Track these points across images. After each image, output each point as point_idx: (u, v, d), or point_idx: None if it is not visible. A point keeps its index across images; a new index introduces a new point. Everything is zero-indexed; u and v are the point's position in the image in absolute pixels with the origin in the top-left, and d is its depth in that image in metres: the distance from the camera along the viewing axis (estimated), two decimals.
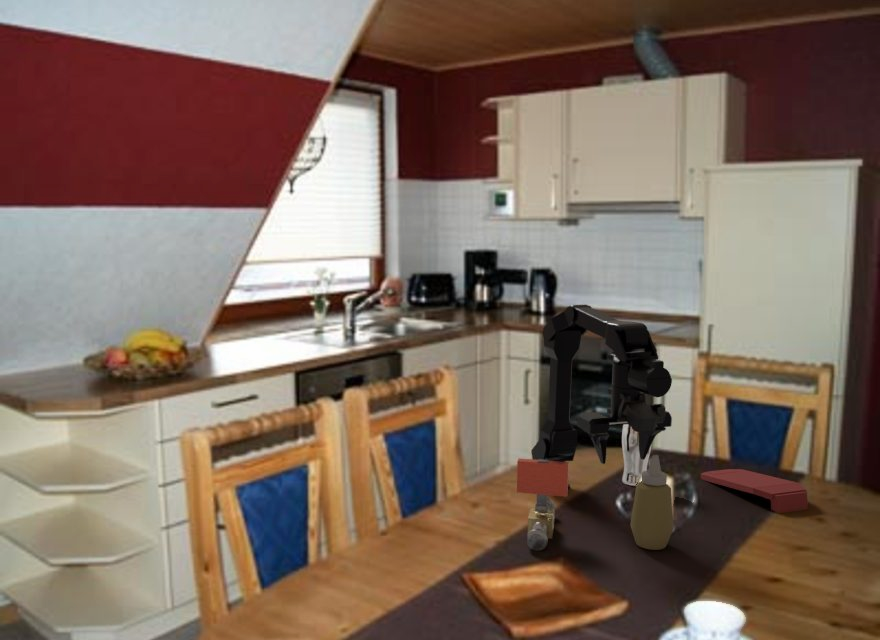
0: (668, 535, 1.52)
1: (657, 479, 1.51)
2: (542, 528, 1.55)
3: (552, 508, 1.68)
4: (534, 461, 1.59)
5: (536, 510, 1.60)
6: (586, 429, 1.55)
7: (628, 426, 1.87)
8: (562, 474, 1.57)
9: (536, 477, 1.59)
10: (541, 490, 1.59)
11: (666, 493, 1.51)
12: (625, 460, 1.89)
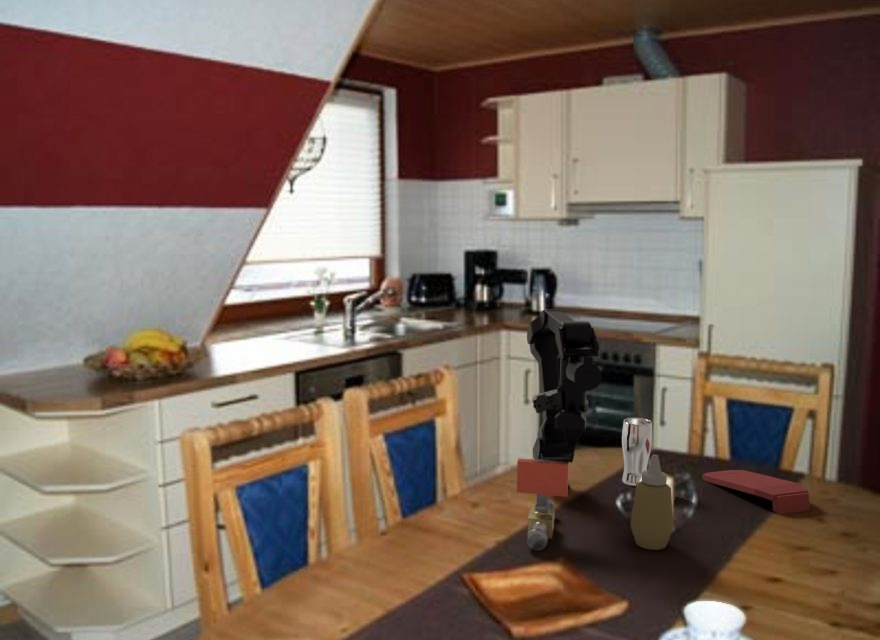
0: (668, 535, 1.52)
1: (657, 479, 1.51)
2: (542, 528, 1.55)
3: (552, 508, 1.68)
4: (534, 461, 1.59)
5: (536, 510, 1.60)
6: None
7: (628, 426, 1.87)
8: (562, 474, 1.57)
9: (536, 477, 1.59)
10: (541, 490, 1.59)
11: (666, 493, 1.51)
12: (625, 460, 1.89)
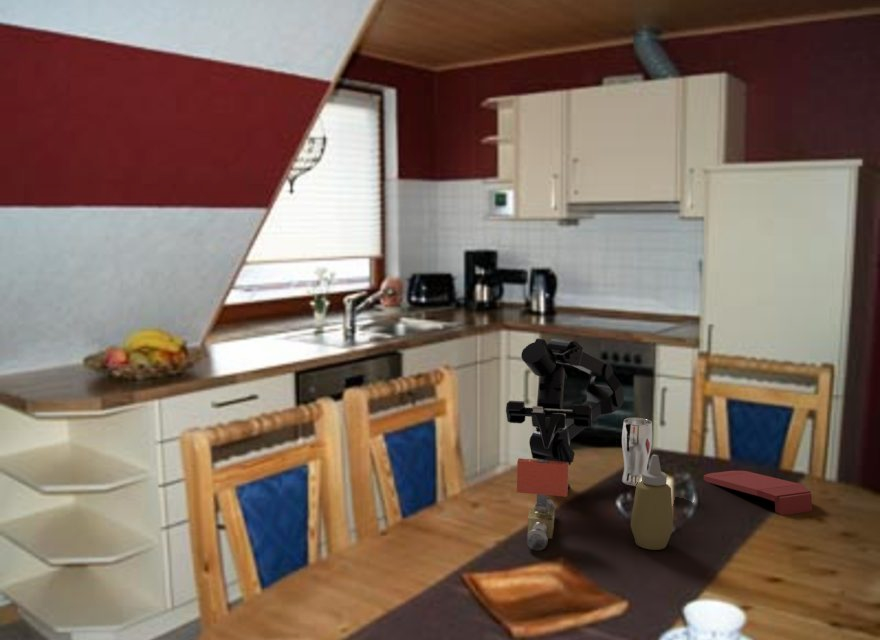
0: (668, 535, 1.52)
1: (657, 479, 1.51)
2: (542, 528, 1.55)
3: (552, 508, 1.68)
4: (534, 461, 1.59)
5: (536, 510, 1.60)
6: (591, 421, 1.76)
7: (628, 426, 1.87)
8: (562, 474, 1.57)
9: (536, 477, 1.59)
10: (541, 490, 1.59)
11: (666, 493, 1.51)
12: (625, 460, 1.89)
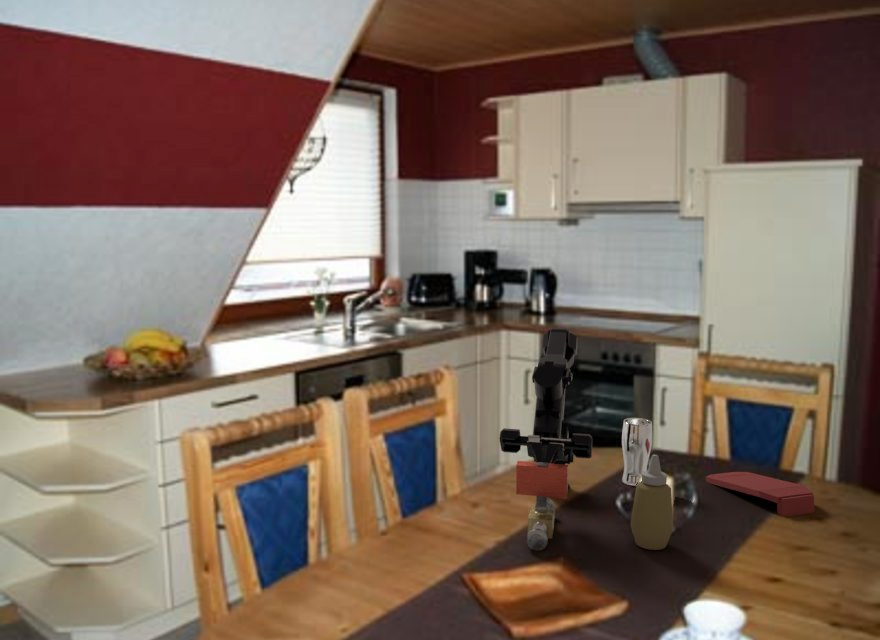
0: (668, 535, 1.52)
1: (657, 479, 1.51)
2: (542, 528, 1.55)
3: (552, 508, 1.68)
4: (533, 464, 1.58)
5: (536, 511, 1.60)
6: (591, 452, 1.63)
7: (628, 426, 1.87)
8: (562, 477, 1.56)
9: (535, 480, 1.58)
10: (541, 492, 1.58)
11: (666, 493, 1.51)
12: (625, 460, 1.89)
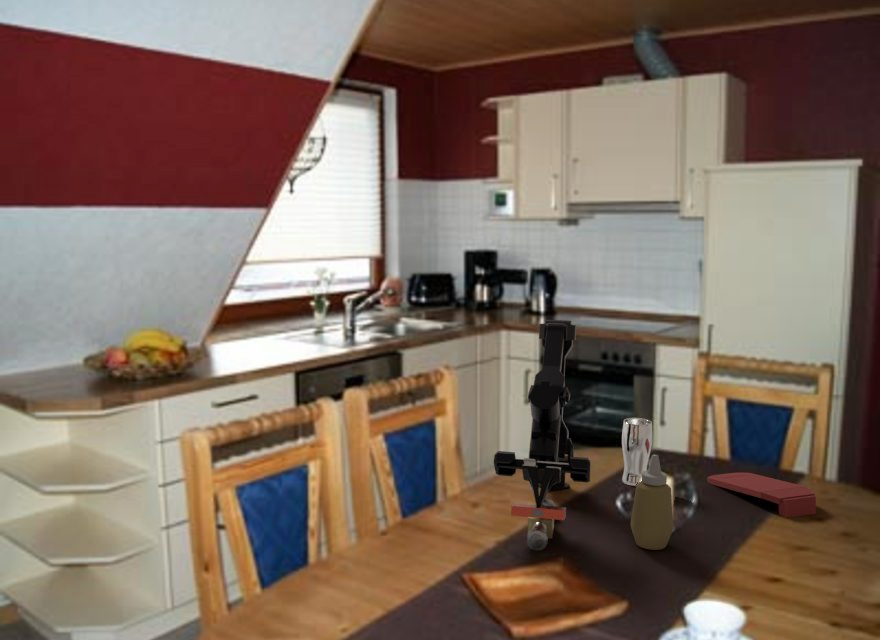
0: (668, 535, 1.52)
1: (657, 479, 1.51)
2: (542, 528, 1.55)
3: None
4: (528, 512, 1.51)
5: None
6: (589, 476, 1.56)
7: (628, 426, 1.87)
8: None
9: None
10: None
11: (666, 493, 1.51)
12: (625, 460, 1.89)
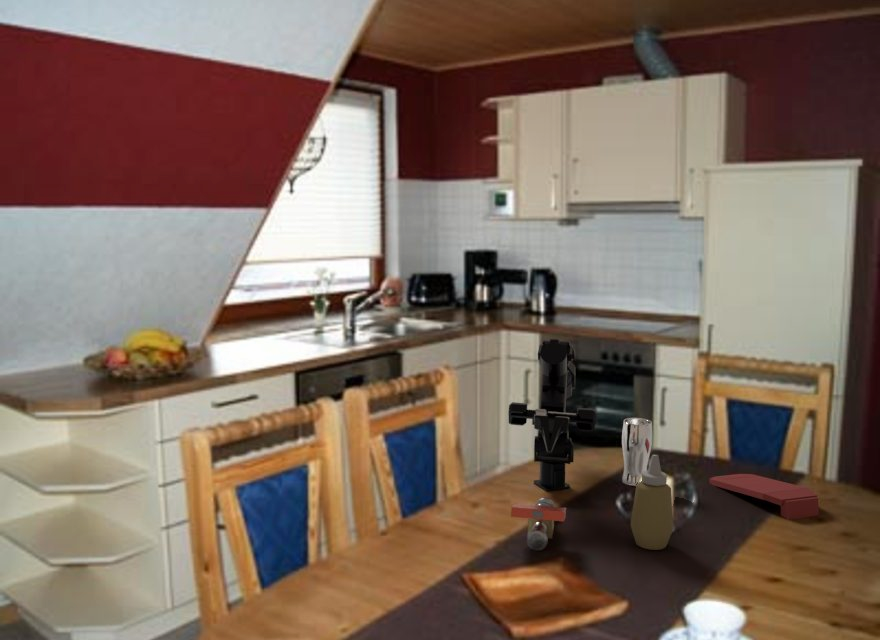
0: (668, 535, 1.52)
1: (657, 479, 1.51)
2: (542, 528, 1.55)
3: None
4: (528, 513, 1.51)
5: None
6: (594, 426, 1.73)
7: (628, 426, 1.87)
8: None
9: None
10: None
11: (666, 493, 1.51)
12: (625, 460, 1.89)
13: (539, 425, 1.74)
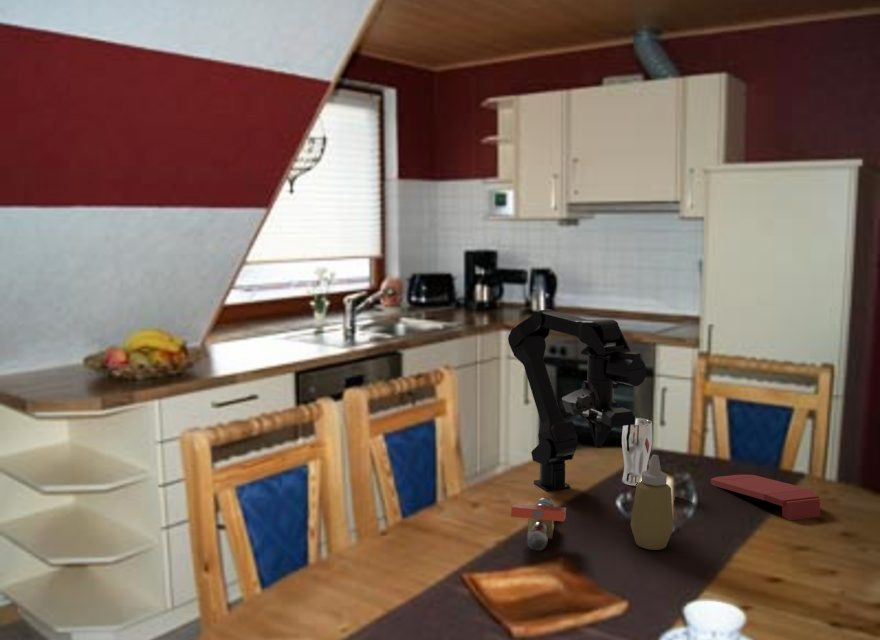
0: (668, 535, 1.52)
1: (657, 479, 1.51)
2: (542, 528, 1.55)
3: None
4: (528, 513, 1.51)
5: None
6: None
7: (628, 426, 1.87)
8: None
9: None
10: None
11: (666, 493, 1.51)
12: (625, 460, 1.89)
13: None
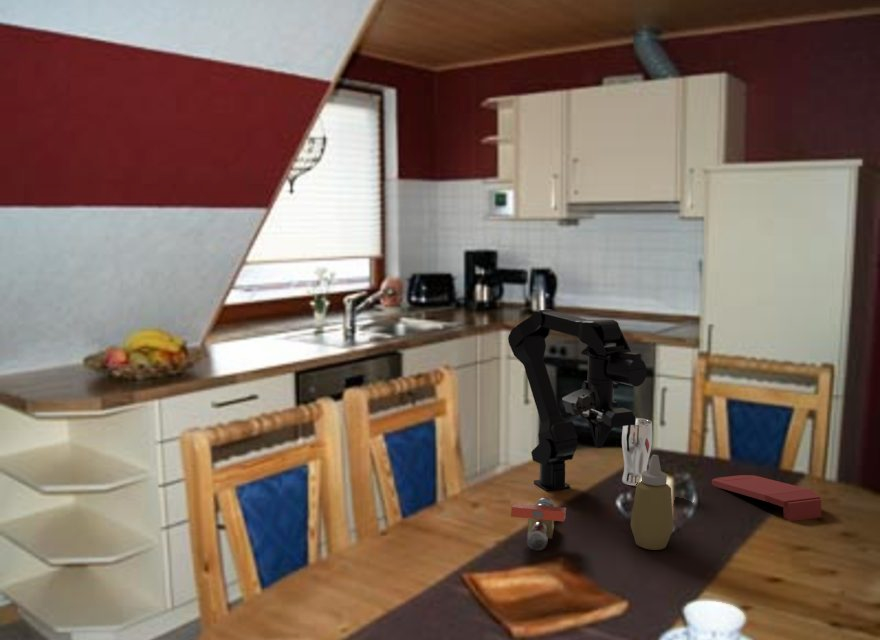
0: (668, 535, 1.52)
1: (657, 479, 1.51)
2: (542, 528, 1.55)
3: None
4: (528, 513, 1.51)
5: None
6: None
7: (628, 426, 1.87)
8: None
9: None
10: None
11: (666, 493, 1.51)
12: (625, 460, 1.89)
13: None
